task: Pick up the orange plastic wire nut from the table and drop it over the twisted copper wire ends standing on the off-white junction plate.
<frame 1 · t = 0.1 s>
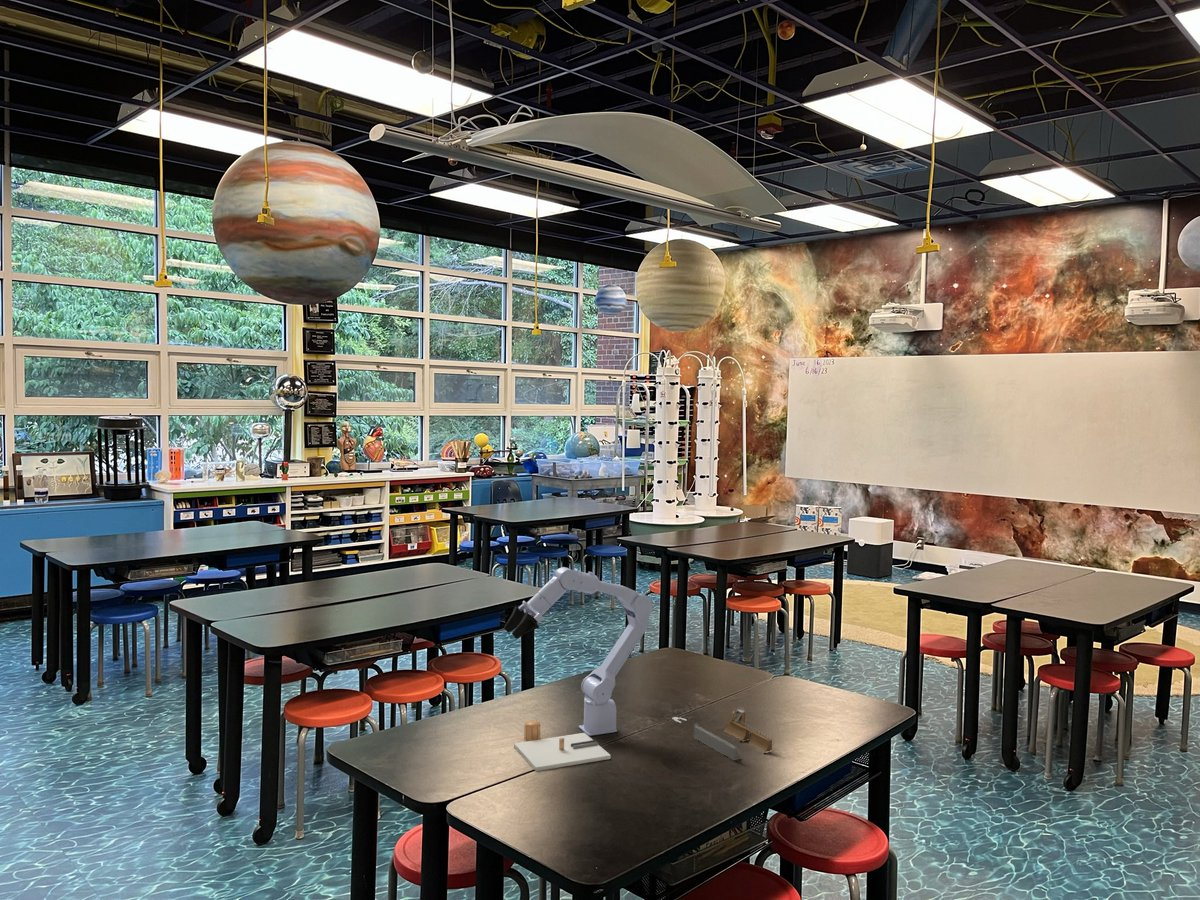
hand: (510, 633, 240), 32 cm above the table, tool tilted 50°, fingers open, 7 cm apart
paper: (676, 716, 268), on the table
wire nut: (532, 738, 246), on the table
junction plate: (561, 752, 235), on the table
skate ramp: (748, 744, 246), on the table
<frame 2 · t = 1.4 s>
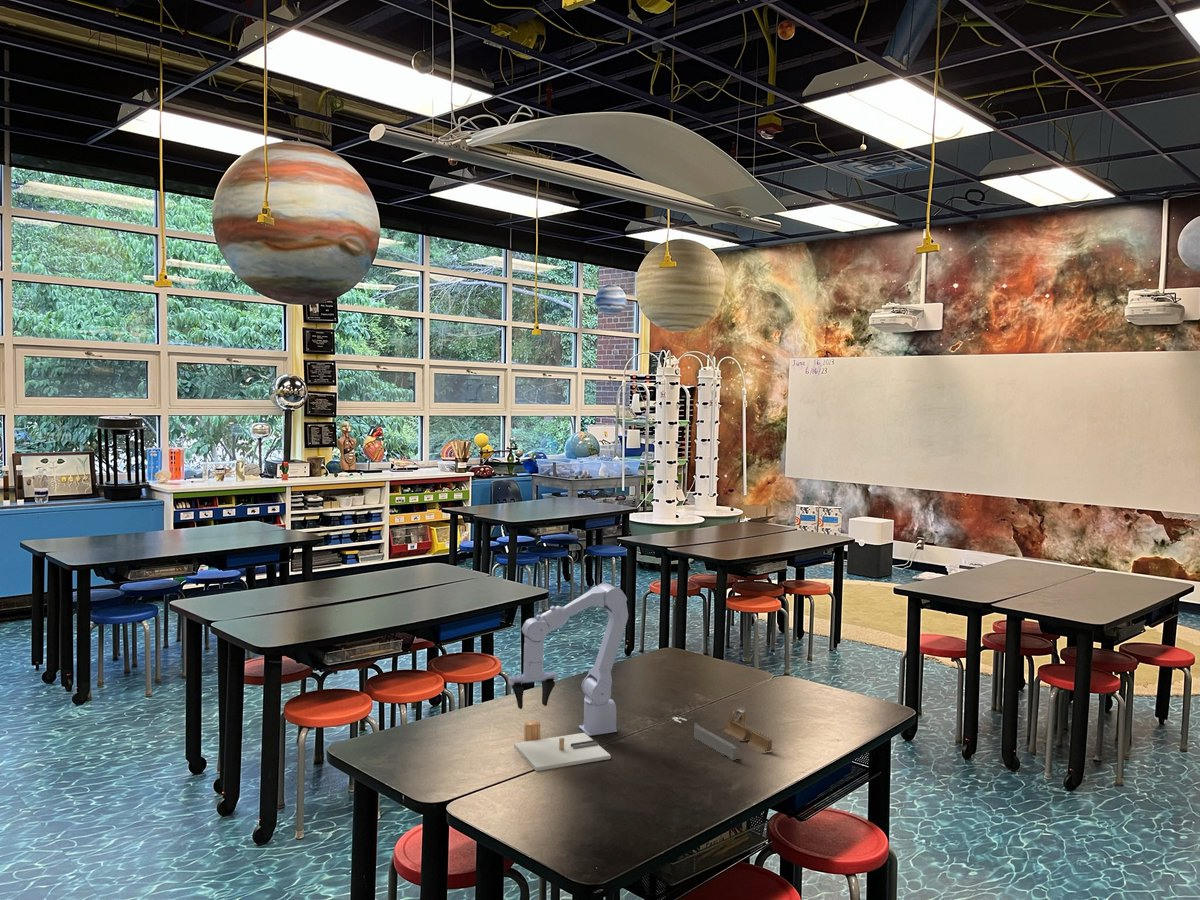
hand: (532, 706, 245), 10 cm above the table, tool pointing down, fingers open, 7 cm apart
nothing on the table moved.
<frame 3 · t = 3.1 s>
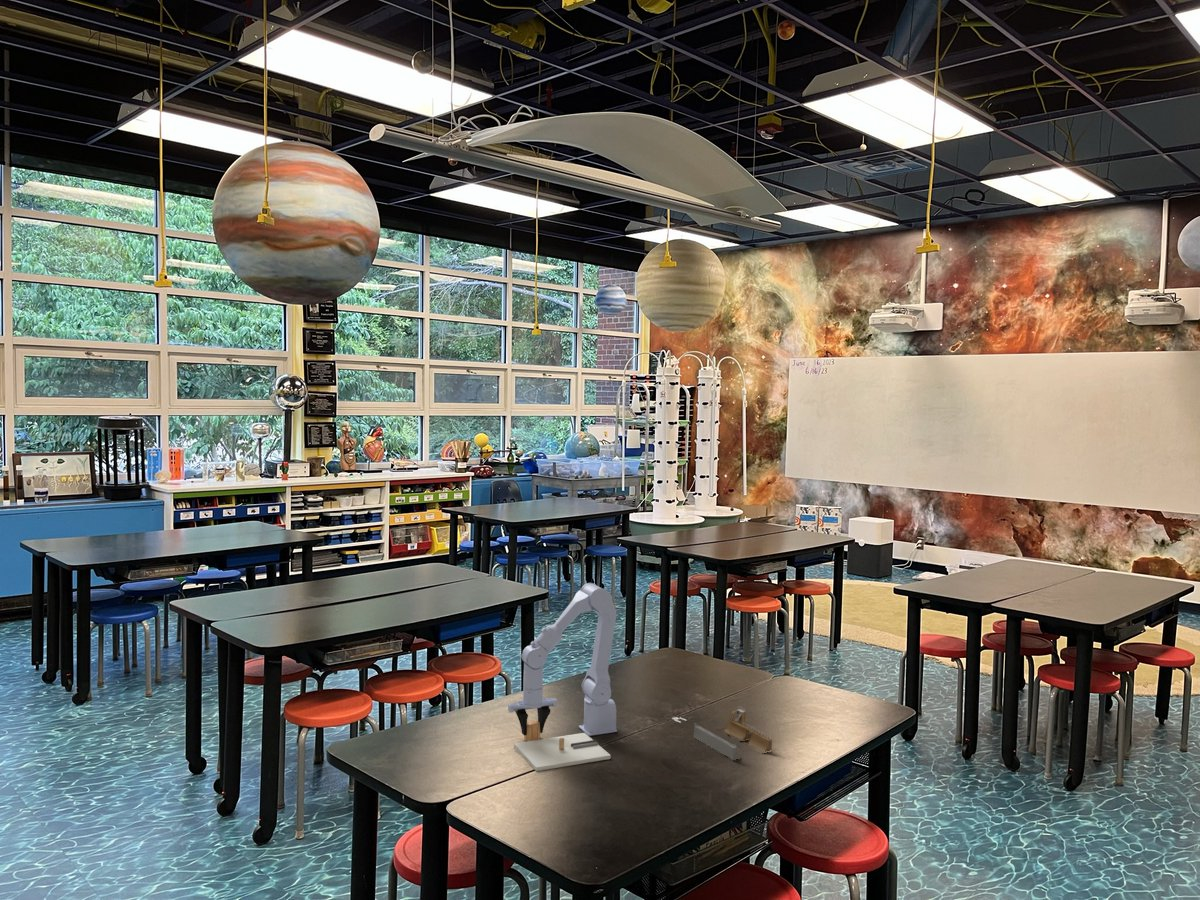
hand: (532, 733, 245), 2 cm above the table, tool pointing down, fingers closed on wire nut, 4 cm apart
wire nut: (532, 738, 246), on the table, touching gripper
everything else where it was.
when the fingers open (4 cm above the table, at t = 7.1 s): wire nut stays where it is, resting on junction plate.
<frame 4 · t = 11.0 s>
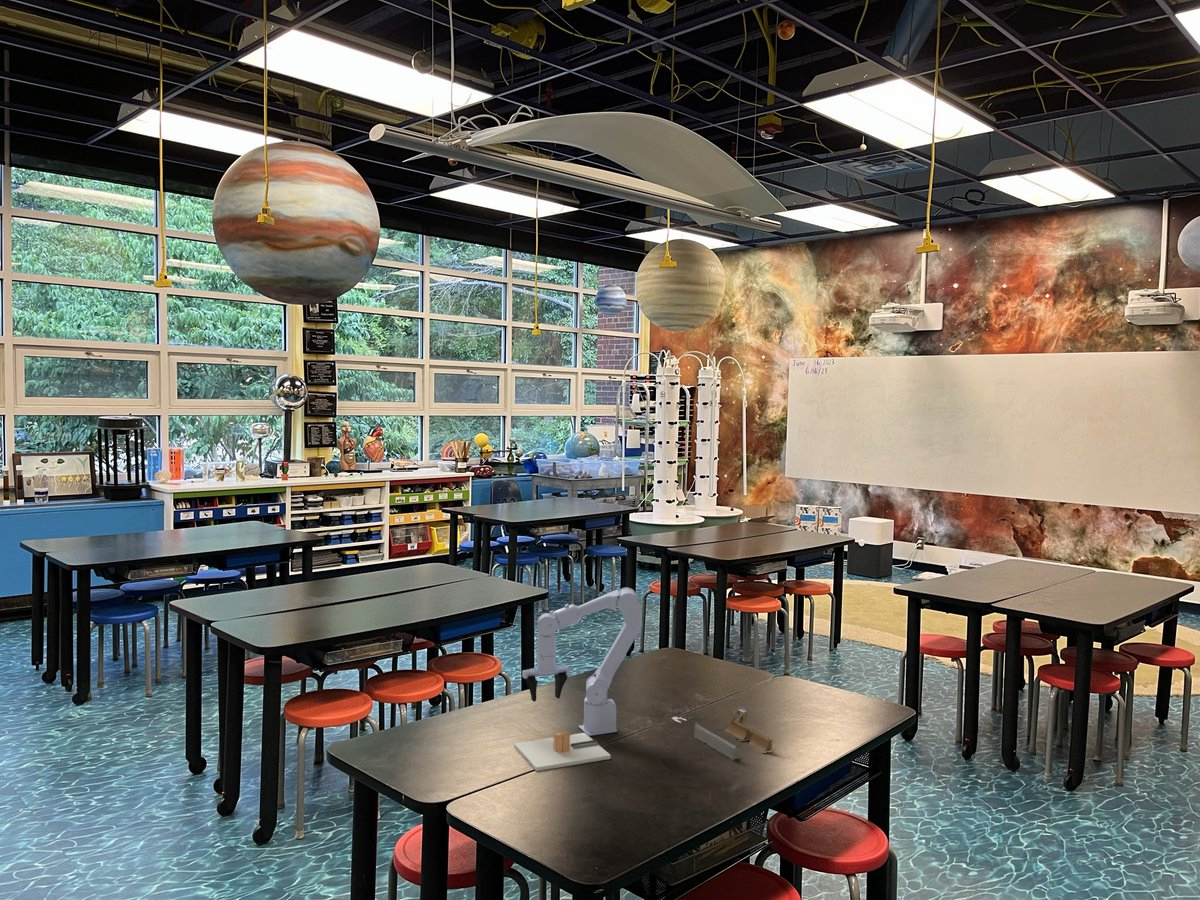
hand: (545, 699, 252), 9 cm above the table, tool pointing down, fingers open, 7 cm apart
paper: (676, 716, 268), on the table, touching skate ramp
wire nut: (561, 749, 235), point 1 cm above the table, touching junction plate
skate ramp: (748, 744, 247), on the table, touching paper
at the end: wire nut 0.0 cm off-centre on the junction plate, point 1.0 cm above the junction plate's base; wire nut tilted 0°; the gripper is holding nothing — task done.
